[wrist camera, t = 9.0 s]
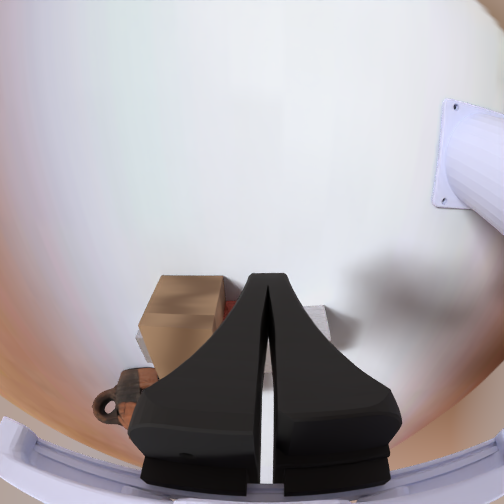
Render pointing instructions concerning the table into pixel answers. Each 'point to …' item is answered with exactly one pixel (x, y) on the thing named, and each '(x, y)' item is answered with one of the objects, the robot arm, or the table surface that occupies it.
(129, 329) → the table surface
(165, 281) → the walnut block
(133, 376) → the brown ringed sculpture
